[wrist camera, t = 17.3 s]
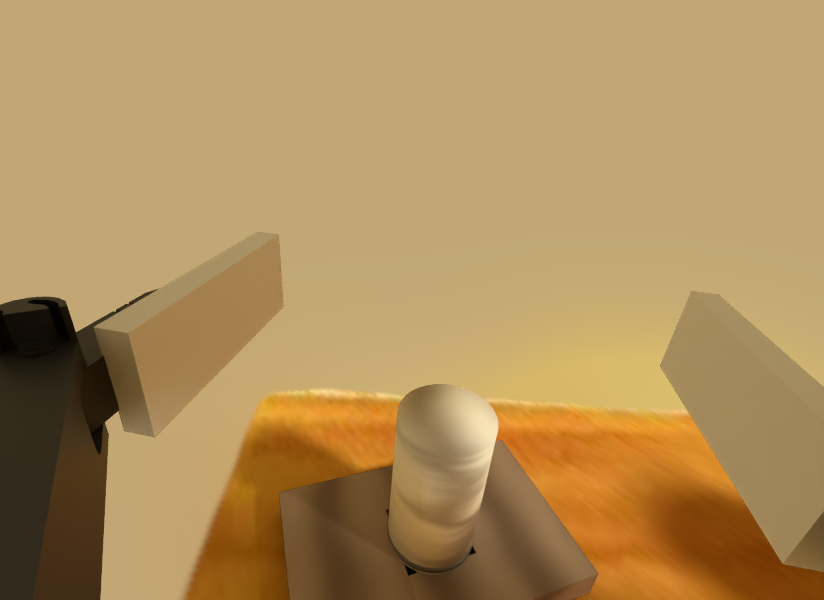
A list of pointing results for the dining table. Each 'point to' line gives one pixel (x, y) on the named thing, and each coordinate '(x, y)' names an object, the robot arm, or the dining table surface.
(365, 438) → the dining table surface
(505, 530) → the walnut board
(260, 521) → the dining table surface
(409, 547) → the ash leg
